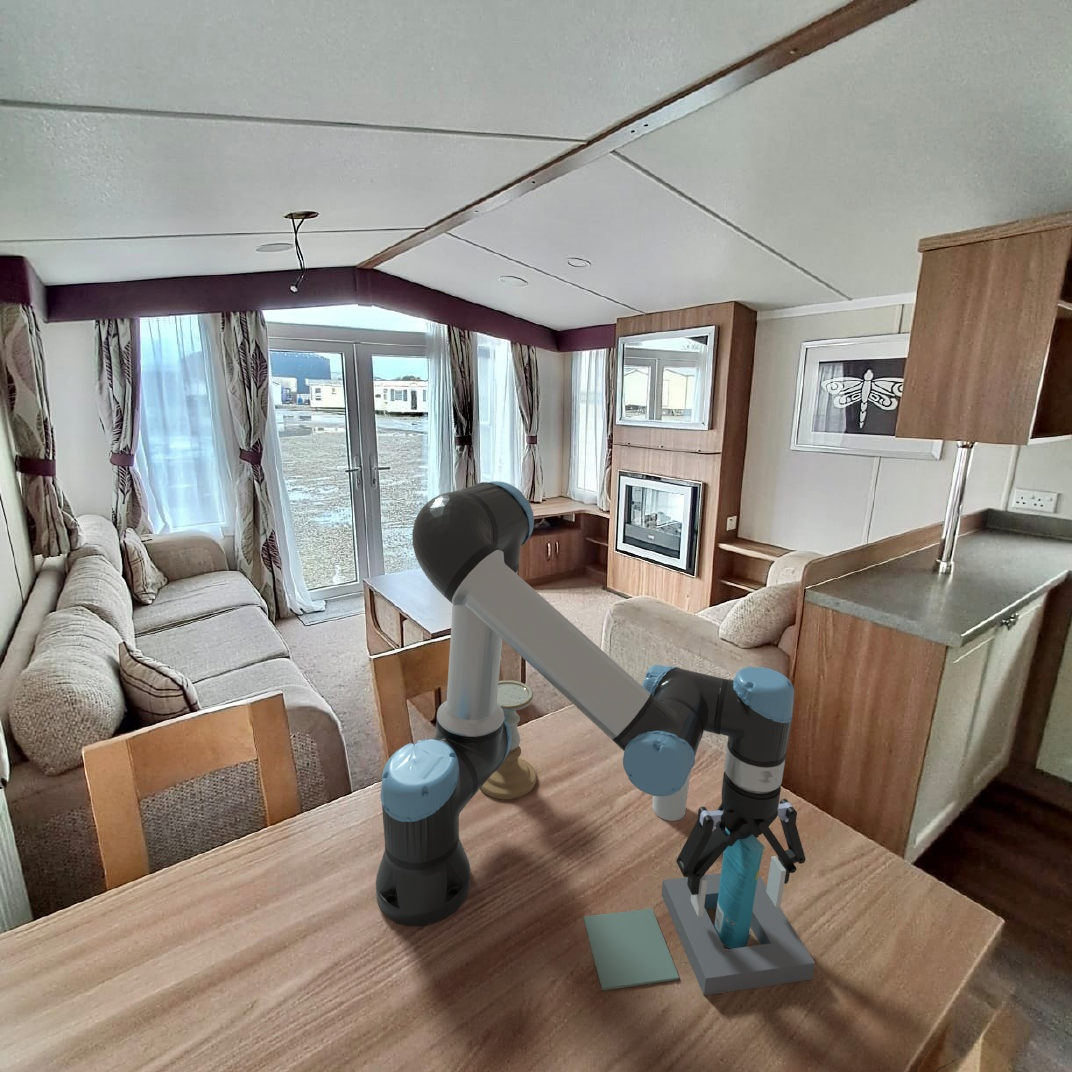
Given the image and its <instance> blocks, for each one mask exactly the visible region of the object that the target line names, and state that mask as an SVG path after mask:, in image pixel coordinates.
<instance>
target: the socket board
mask: <svg viewBox="0 0 1072 1072" xmlns="http://www.w3.org/2000/svg"><path fill="white" fill-rule="evenodd" d="M705 876H706V878H707V887H706V895H705V904H704V912H703V916H702V917H698V916H697V914H696V911H695V909H694V907H693V905H692V903H691V892H690V890H689V888H688V885H687V881H688V877H684V876H683V877H678V878H677V877H675V878H668V879H662V885H661V896H662V899H663V902H664V904H665V908H666V909H667V912H668V913H669V916H670V919H671V921H672V924H673V925H674V928H675V931H676V933H677V935H678V937H679V940H680V942H681V945H682V947H683V950H684V952H685V954H686V957H687V959H688V961H689V963H690V966H691V969H692V972H693V974H694V976H695V979H696V981H697V984H698V986H699V987H700V991H701V992H702V995H703V996H708V995H709V996H710V995H716V994H722V993H729V992H735V991H736V992H737V991H743V990H751V989H756V988H757V989H758V988H764V987H771V986H776V985H784V984H791V983H798V982H805V981H810V980H811V981H812V980H813V976H814V971H815V966H816V962H815V961H814V959H813V957H812V956H811V954H810V952H809V951H808V949H807V948H806V947H805V944H804V943H803V942H802V940H801V938H800V937H799V935H798V934H797V932H796V930H795V928H794V927H793V926H792V924H791V923H790V921H789V919H788V918H787V916H786V915H785V913H784V911H783V910H782V908H781V907H775V905H774V903H773V902H772V900H771V899H770V897H769V896H768V894H767V892H766V889H767V884H766V883H765V881H764V880H763V879H762V877H761V875H760V873H759V874H758V880H757V885H756V891H755V897H754V904H753V910H752V917H751V923H750V929H751V930H752V932H753V934H754V936H755V938H756V939H757V942H758V944H757V945H749V946H745V947H741V948H733V949H732V948H727V949H725V945H724V944H722V942H721V940H720V938H719V936H718V934H717V932H716V930H715V928H714V926H715V925H714V924H713V922H712V920H711V918H710V916H709V914H708V912H707V910H712V909H713V910H714V909H717V902H718V894H719V886H720V878H721V872H719V873H711V874H705Z"/></svg>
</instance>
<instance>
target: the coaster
mask: <svg viewBox="0 0 1072 1072" xmlns="http://www.w3.org/2000/svg"><path fill="white" fill-rule="evenodd" d="M583 920H584V925H585V929H586V933H587V937H588V938H587V939H588V942H589V944H590V950H591V953H592V956H593V961H594V964H595V969H596V973H597V977H598V981H599V984H600V988H601V991H607V990H608V991H609V990H617V989H623V988H629V987H637V986H645V985H652V984H657V983H658V984H659V983H663V982H664V983H665V982H672V981H679V980H680V976H679V974H678V971H677V968H676V966H675V963H674V961H673V958H672V955H671V953H670V951H669V947H668V945H667V943H666V940H665V938H664V935H663V932H662V930H661V928H660V925H659V922H658V919H657V917H656V914H655V912H654V909H653V908H643V909H634V910H627V911H625V910H624V911H619V912H617V911H616V912H611V913H603V914H596V915H595V914H593V915H585V916H583Z"/></svg>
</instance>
